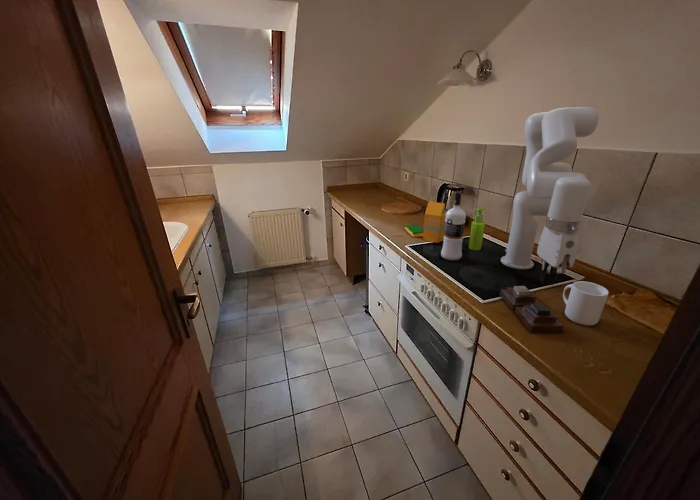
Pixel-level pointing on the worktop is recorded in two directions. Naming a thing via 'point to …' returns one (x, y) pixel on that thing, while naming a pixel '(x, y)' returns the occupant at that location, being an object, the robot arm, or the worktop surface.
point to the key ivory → (521, 290)
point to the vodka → (454, 231)
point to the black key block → (538, 320)
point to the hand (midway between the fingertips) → (546, 283)
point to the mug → (585, 302)
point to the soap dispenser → (477, 231)
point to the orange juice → (434, 222)
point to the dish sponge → (414, 230)
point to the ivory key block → (517, 298)
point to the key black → (540, 309)
